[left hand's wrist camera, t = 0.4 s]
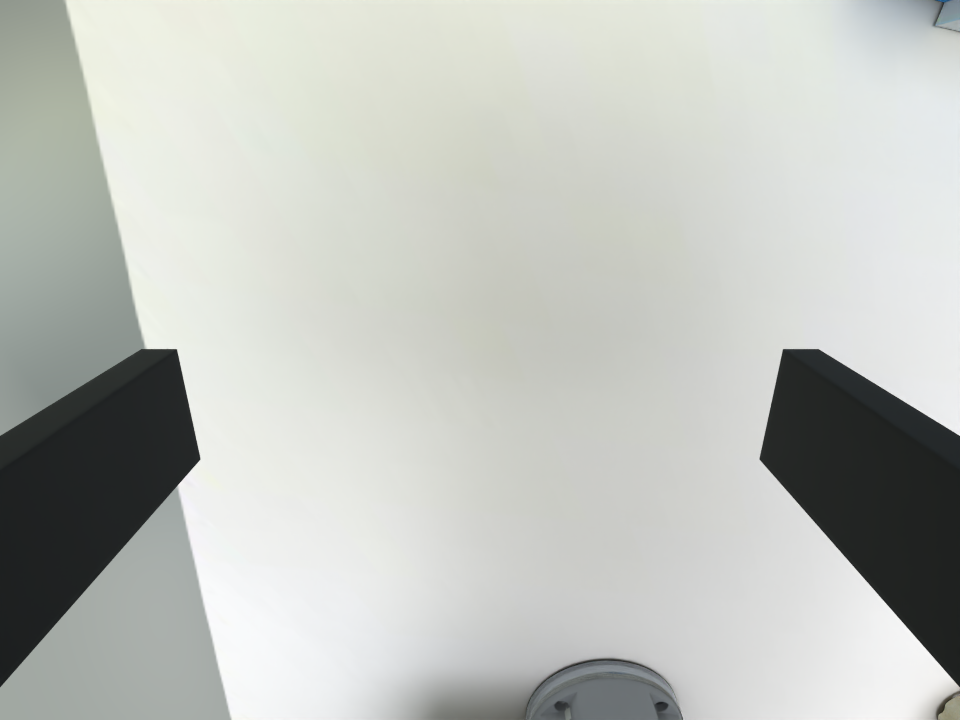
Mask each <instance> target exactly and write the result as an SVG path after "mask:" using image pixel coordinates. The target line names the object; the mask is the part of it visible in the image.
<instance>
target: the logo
mask: <svg viewBox="0 0 960 720" xmlns="http://www.w3.org/2000/svg"><path fill="white" fill-rule="evenodd" d="M937 1H941V2H945V3H944V6H943V8H942V10H941V13H940V15H939V17H938V20H937V22H936V25H935V26H939V27H943V28H947V29H952V30H956V31H960V0H937Z"/></svg>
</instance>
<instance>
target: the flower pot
mask: <svg viewBox="0 0 960 720" xmlns="http://www.w3.org/2000/svg"><path fill="white" fill-rule="evenodd" d="M938 720H960V695H959V696H957V697H955V698H953V699H951V700H950V701H948V702H947V703H946V705H945V709H944V711H943V712H942V713H941V714H939V716H938Z"/></svg>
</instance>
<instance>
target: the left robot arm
mask: <svg viewBox="0 0 960 720" xmlns="http://www.w3.org/2000/svg"><path fill="white" fill-rule="evenodd" d="M199 460H200V455H199V450H198V445H197V441H196V436H195V431H194V427H193V422H192V417H191V413H190V408H189V403H188V399H187V394H186V390H185V385H184V380H183V376H182V371H181V366H180V362H179V357H178V352H177V349H141V350H139V351H138V352H136V353H135V354H133V355H131V356H130V357H128V358H126V359H125V360H123V361H122V362H120V363H118V364H117V365H115V366H113V367H112V368H110V369H108V370H107V371H105V372H104V373H102V374H100V375H99V376H97V377H95V378H94V379H92V380H91V381H89V382H87V383H86V384H84V385H83V386H81V387H79V388H78V389H76V390H74V391H73V392H71V393H69V394H68V395H66V396H65V397H63V398H61V399H60V400H58V401H56V402H55V403H53V404H52V405H50V406H48V407H47V408H45V409H43V410H42V411H40V412H39V413H37V414H35V415H34V416H32V417H30V418H29V419H27V420H25V421H24V422H22V423H21V424H19V425H17V426H16V427H14V428H12V429H11V430H9V431H8V432H6V433H4V434H3V435H1V436H0V687H1V686H2V685H3V683H4V682H5V681H6V680H7V679H8V678H9V677H10V675H11V674H12V673H13V672H14V671H15V670H16V669H17V668H18V666H19V665H20V664H21V663H22V662H23V661H24V660H25V658H26V657H27V656H28V655H29V654H30V653H31V652H32V650H33V649H34V648H35V647H36V646H37V645H38V644H39V642H40V641H41V640H42V639H43V638H44V637H45V636H46V635H47V633H48V632H49V631H50V630H51V629H52V628H53V627H54V625H55V624H56V623H57V622H58V621H59V620H60V619H61V617H62V616H63V615H64V614H65V613H66V612H67V611H68V609H69V608H70V607H71V606H72V605H73V604H74V603H75V601H76V600H77V599H78V598H79V597H80V596H81V595H82V594H83V592H84V591H85V590H86V589H87V588H88V587H89V586H90V584H91V583H92V582H93V581H94V580H95V579H96V578H97V576H98V575H99V574H100V573H101V572H102V571H103V570H104V569H105V567H106V566H107V565H108V564H109V563H110V562H111V561H112V559H113V558H114V557H115V556H116V555H117V554H118V553H119V551H120V550H121V549H122V548H123V547H124V546H125V545H126V543H127V542H128V541H129V540H130V539H131V538H132V537H133V536H134V534H135V533H136V532H137V531H138V530H139V529H140V528H141V526H142V525H143V524H144V523H145V522H146V521H147V520H148V518H149V517H150V516H151V515H152V514H153V513H154V512H155V510H156V509H157V508H158V507H159V506H160V505H161V504H162V503H163V501H164V500H165V499H166V498H167V497H168V496H169V494H170V493H171V492H172V491H173V490H174V489H175V488H176V487H177V485H178V484H179V483H180V482H181V481H182V480H183V479H184V477H185V476H186V475H187V474H188V473H189V472H190V471H191V470H192V468H193V467H194V466H195V465H196V464H197V463H198V462H199ZM760 460H761V462H762V463H763V464H764V465H765V466H766V467H767V468H768V470H769V471H770V472H771V473H772V474H773V475H774V476H775V477H776V479H777V480H778V481H779V482H780V483H781V484H782V485H783V487H784V488H785V489H786V490H787V491H788V492H789V493H790V495H791V496H792V497H793V498H794V499H795V500H796V501H797V503H798V504H799V505H800V506H801V507H802V508H803V509H804V510H805V512H806V513H807V514H808V515H809V516H810V517H811V518H812V520H813V521H814V522H815V523H816V524H817V525H818V526H819V528H820V529H821V530H822V531H823V532H824V533H825V534H826V536H827V537H828V538H829V539H830V540H831V541H832V542H833V543H834V545H835V546H836V547H837V548H838V549H839V550H840V551H841V553H842V554H843V555H844V556H845V557H846V558H847V559H848V561H849V562H850V563H851V564H852V565H853V566H854V567H855V569H856V570H857V571H858V572H859V573H860V574H861V575H862V576H863V578H864V579H865V580H866V581H867V582H868V583H869V584H870V586H871V587H872V588H873V589H874V590H875V591H876V592H877V594H878V595H879V596H880V597H881V598H882V599H883V600H884V602H885V603H886V604H887V605H888V606H889V607H890V608H891V609H892V611H893V612H894V613H895V614H896V615H897V616H898V617H899V619H900V620H901V621H902V622H903V623H904V624H905V625H906V627H907V628H908V629H909V630H910V631H911V632H912V633H913V635H914V636H915V637H916V638H917V639H918V640H919V641H920V642H921V644H922V645H923V646H924V647H925V648H926V649H927V650H928V652H929V653H930V654H931V655H932V656H933V657H934V658H935V660H936V661H937V662H938V663H939V664H940V665H941V666H942V668H943V669H944V670H945V671H946V672H947V673H948V674H949V675H950V677H951V678H952V679H953V680H954V681H955V682H956V683H957V685H958V686H959V687H960V436H959V435H957V434H956V433H954V432H952V431H951V430H949V429H948V428H946V427H944V426H943V425H941V424H939V423H938V422H936V421H935V420H933V419H931V418H930V417H928V416H926V415H925V414H923V413H921V412H920V411H918V410H917V409H915V408H913V407H912V406H910V405H908V404H907V403H905V402H904V401H902V400H900V399H899V398H897V397H895V396H894V395H892V394H891V393H889V392H887V391H886V390H884V389H882V388H881V387H879V386H878V385H876V384H874V383H873V382H871V381H869V380H868V379H866V378H865V377H863V376H861V375H860V374H858V373H856V372H855V371H853V370H852V369H850V368H848V367H847V366H845V365H843V364H842V363H840V362H838V361H837V360H835V359H834V358H832V357H830V356H829V355H827V354H825V353H824V352H822V351H821V350H819V349H783V352H782V357H781V362H780V366H779V371H778V376H777V380H776V385H775V390H774V394H773V399H772V403H771V408H770V413H769V417H768V422H767V427H766V431H765V436H764V441H763V445H762V450H761V455H760ZM526 720H683V718H682V714H681V711H680V709H679V706H678V703H677V700H676V697H675V695H674V692H673V690H672V689H671V687H670V686H669V685H668V683H667V682H666V681H665V680H664V679H663V678H662V677H660V676H659V675H657V674H656V673H654V672H653V671H651V670H649V669H647V668H645V667H642V666H639V665H636V664H632V663H628V662H622V661H593V662H587V663H583V664H578V665H575V666H572V667H569V668H567V669H564V670H562V671H560V672H558V673H557V674H555V675H553V676H552V677H550V678H549V679H547V680H546V681H545V682H544V683H543V684H542V685H540V687H539V688H538V689H537V690H536V691H535V693H534V694H533V696H532V697H531V699H530V701H529V704H528V707H527V711H526Z"/></svg>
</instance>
